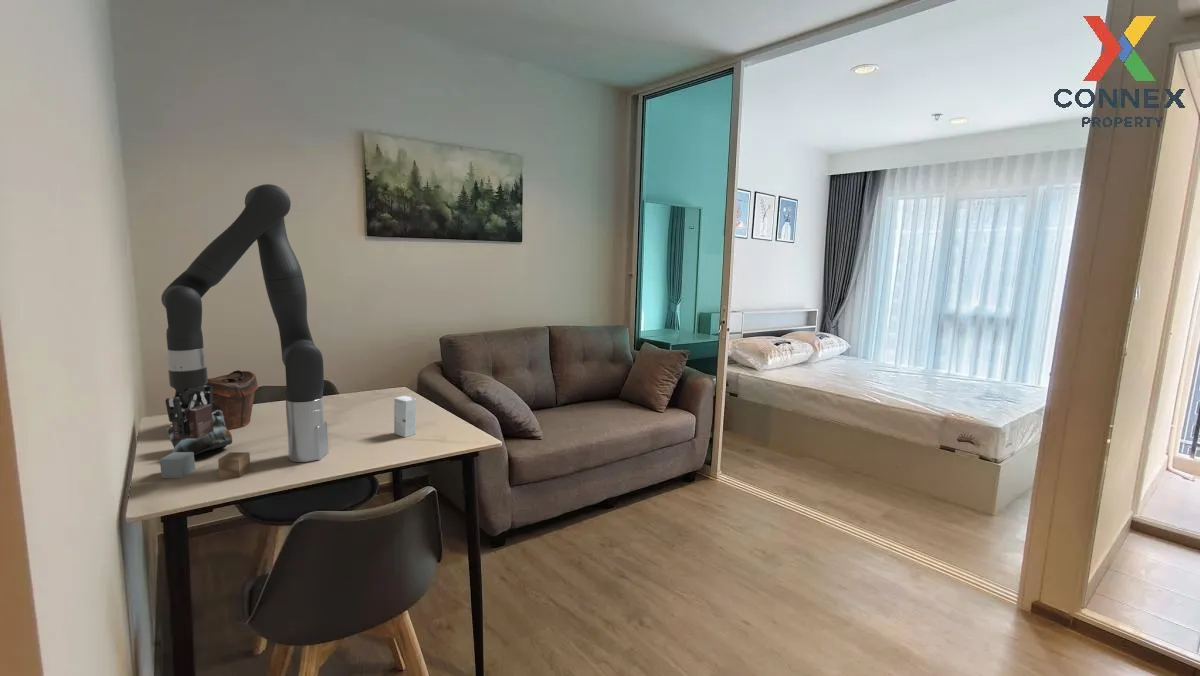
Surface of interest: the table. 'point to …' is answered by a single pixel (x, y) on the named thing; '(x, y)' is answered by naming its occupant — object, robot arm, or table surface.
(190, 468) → the grey block
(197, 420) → the box
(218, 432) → the grey-blue rounded figure
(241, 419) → the brown wooden container
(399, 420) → the skincare box
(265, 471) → the table surface
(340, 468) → the table surface
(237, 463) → the walnut block
